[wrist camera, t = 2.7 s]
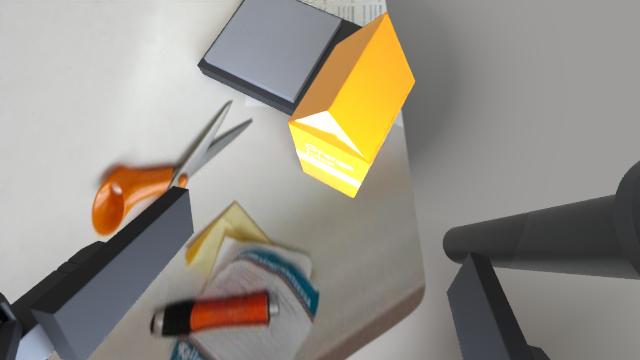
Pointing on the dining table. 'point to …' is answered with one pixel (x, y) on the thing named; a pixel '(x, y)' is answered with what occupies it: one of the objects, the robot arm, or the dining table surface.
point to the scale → (274, 50)
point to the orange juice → (352, 106)
